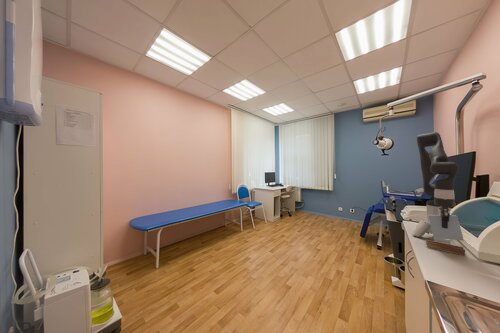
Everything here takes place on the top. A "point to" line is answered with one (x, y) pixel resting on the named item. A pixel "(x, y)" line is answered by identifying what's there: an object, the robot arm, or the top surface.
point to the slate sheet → (443, 233)
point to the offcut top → (443, 240)
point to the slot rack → (445, 247)
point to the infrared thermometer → (422, 229)
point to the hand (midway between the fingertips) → (444, 227)
